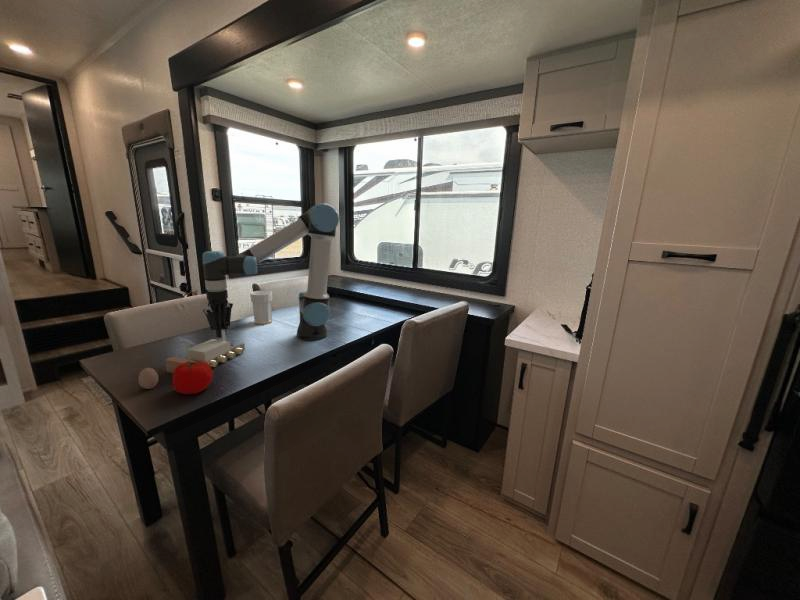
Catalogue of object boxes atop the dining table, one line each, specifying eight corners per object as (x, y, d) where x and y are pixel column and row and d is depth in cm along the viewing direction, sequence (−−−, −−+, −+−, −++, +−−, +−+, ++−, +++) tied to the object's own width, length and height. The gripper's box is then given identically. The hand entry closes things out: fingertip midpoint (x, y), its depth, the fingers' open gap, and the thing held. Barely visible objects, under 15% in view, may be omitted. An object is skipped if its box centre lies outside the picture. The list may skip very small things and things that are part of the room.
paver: (230, 350, 132) (229, 341, 131) (205, 362, 121) (204, 352, 120) (213, 347, 135) (212, 338, 134) (187, 358, 124) (186, 349, 123)
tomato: (165, 394, 103) (160, 365, 101) (198, 379, 114) (194, 352, 112) (190, 402, 99) (186, 372, 97) (222, 386, 110) (219, 358, 107)
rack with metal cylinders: (250, 351, 140) (249, 340, 139) (195, 378, 115) (194, 365, 114) (225, 346, 144) (224, 336, 143) (167, 371, 119) (165, 359, 117)
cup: (259, 318, 185) (257, 290, 181) (277, 320, 184) (275, 291, 180) (248, 324, 175) (245, 294, 170) (267, 326, 173) (265, 295, 169)
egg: (153, 392, 105) (149, 371, 103) (136, 392, 104) (132, 371, 103) (163, 384, 110) (160, 364, 108) (147, 384, 110) (143, 364, 108)
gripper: (222, 286, 135) (227, 337, 141) (195, 291, 123) (202, 348, 129) (236, 287, 133) (241, 340, 139) (210, 293, 121) (216, 351, 127)
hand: (222, 344), depth 134 cm, fingers closed
